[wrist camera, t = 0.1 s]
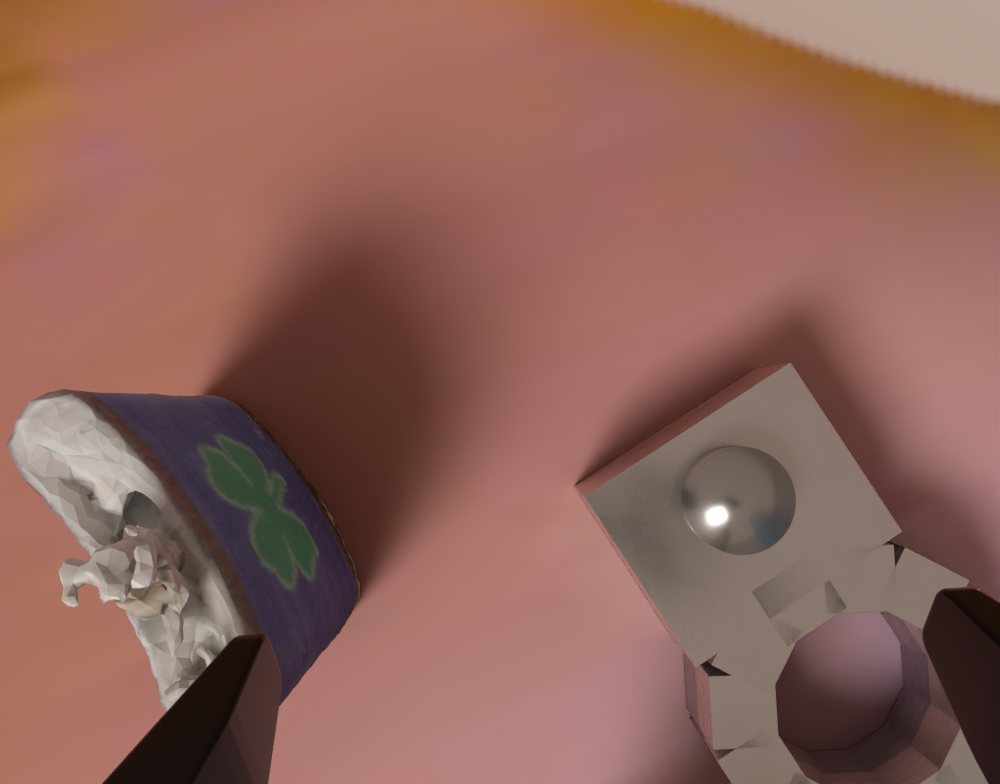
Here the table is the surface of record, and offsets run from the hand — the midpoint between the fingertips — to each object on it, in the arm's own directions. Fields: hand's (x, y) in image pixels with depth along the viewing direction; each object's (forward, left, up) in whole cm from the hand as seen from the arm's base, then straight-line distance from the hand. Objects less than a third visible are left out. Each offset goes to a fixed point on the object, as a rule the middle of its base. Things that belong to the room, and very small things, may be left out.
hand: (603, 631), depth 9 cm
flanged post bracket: (-10, -5, -15) cm, 19 cm away
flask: (+5, +8, -15) cm, 18 cm away
